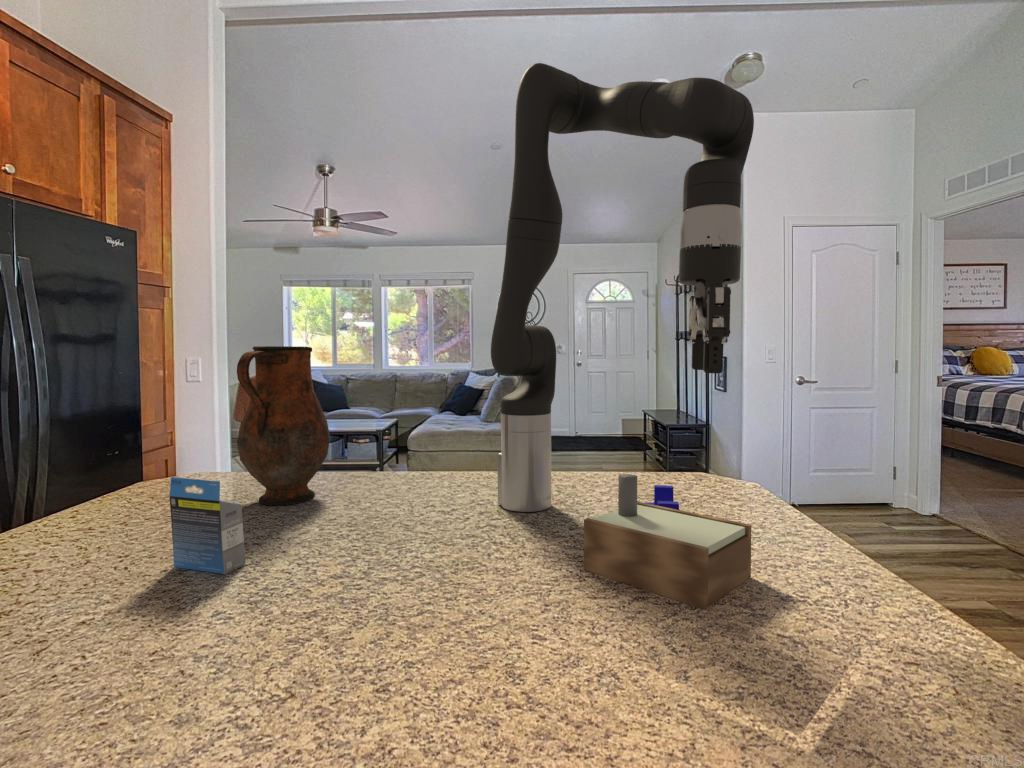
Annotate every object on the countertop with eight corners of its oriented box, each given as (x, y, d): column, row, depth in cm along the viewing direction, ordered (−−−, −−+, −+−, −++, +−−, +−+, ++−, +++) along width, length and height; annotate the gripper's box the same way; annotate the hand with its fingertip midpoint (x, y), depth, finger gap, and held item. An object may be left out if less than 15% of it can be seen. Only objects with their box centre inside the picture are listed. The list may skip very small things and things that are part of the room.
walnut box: (584, 575, 71) (583, 519, 71) (636, 551, 80) (636, 501, 79) (704, 616, 60) (705, 549, 59) (750, 583, 68) (751, 524, 68)
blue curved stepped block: (644, 519, 96) (645, 484, 96) (672, 521, 95) (672, 485, 95) (647, 542, 84) (647, 502, 84) (678, 544, 83) (679, 504, 83)
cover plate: (591, 525, 71) (591, 479, 71) (634, 510, 78) (634, 468, 78) (707, 555, 61) (707, 501, 60) (745, 534, 67) (745, 485, 67)
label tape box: (246, 565, 76) (243, 474, 75) (222, 576, 72) (219, 481, 71) (196, 558, 79) (193, 470, 78) (170, 568, 75) (166, 476, 74)
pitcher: (346, 489, 118) (343, 346, 117) (288, 519, 97) (283, 344, 96) (274, 487, 121) (270, 347, 120) (203, 514, 100) (197, 345, 99)
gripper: (672, 255, 81) (669, 368, 82) (689, 236, 67) (685, 374, 68) (727, 254, 80) (723, 369, 81) (755, 235, 66) (750, 374, 67)
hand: (706, 371), depth 74 cm, fingers open, 8 cm apart
